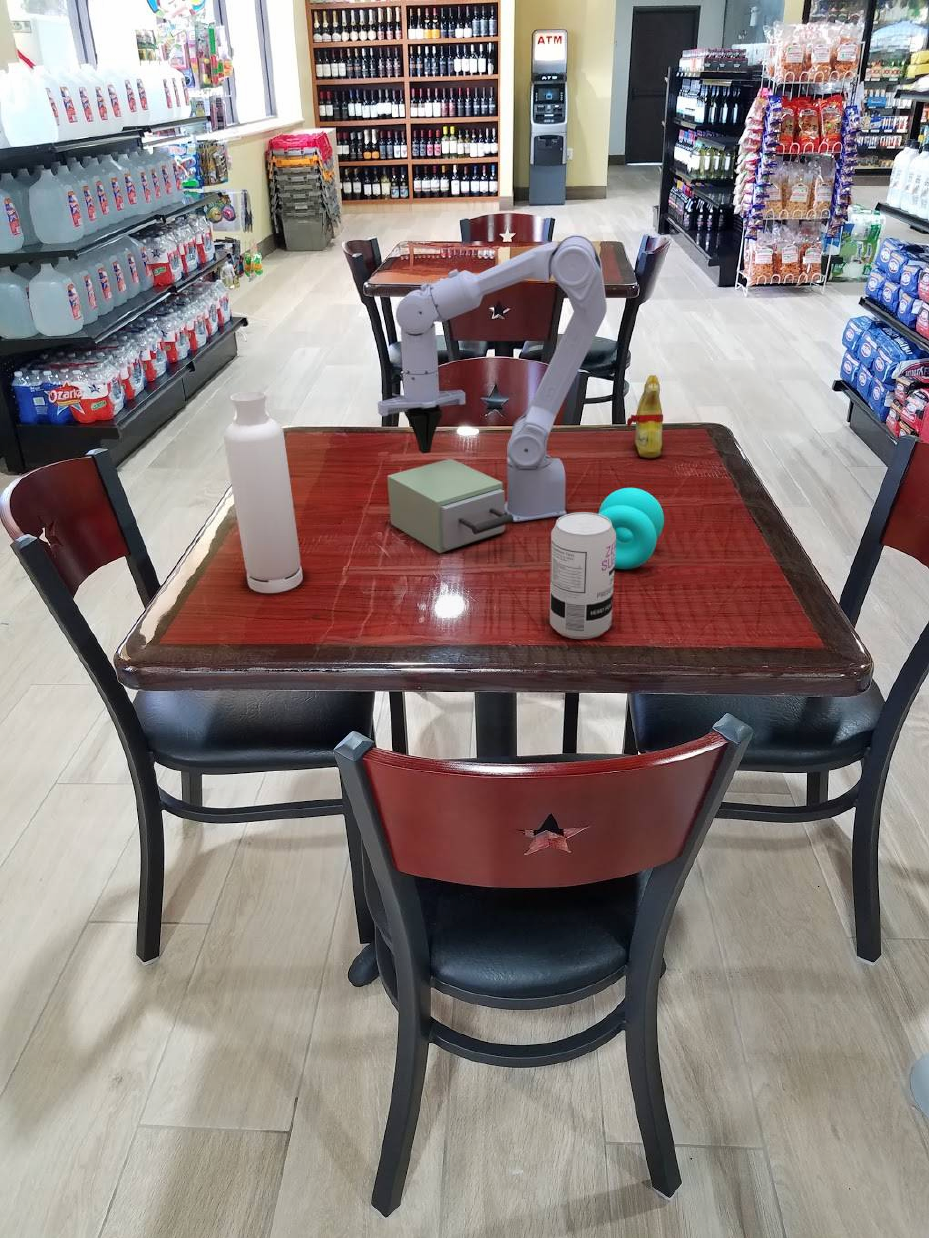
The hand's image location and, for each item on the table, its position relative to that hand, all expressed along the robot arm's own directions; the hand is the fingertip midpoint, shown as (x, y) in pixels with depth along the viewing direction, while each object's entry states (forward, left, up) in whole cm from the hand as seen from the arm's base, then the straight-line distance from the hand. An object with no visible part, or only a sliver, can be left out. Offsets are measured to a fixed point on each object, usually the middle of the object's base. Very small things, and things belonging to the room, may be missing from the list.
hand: (424, 451), depth 156 cm
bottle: (+28, +19, -11) cm, 35 cm away
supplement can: (-10, +46, -11) cm, 48 cm away
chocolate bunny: (-47, -14, -11) cm, 50 cm away
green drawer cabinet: (-1, +9, -10) cm, 14 cm away
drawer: (-2, +13, -10) cm, 16 cm away
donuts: (-24, +29, -11) cm, 39 cm away
